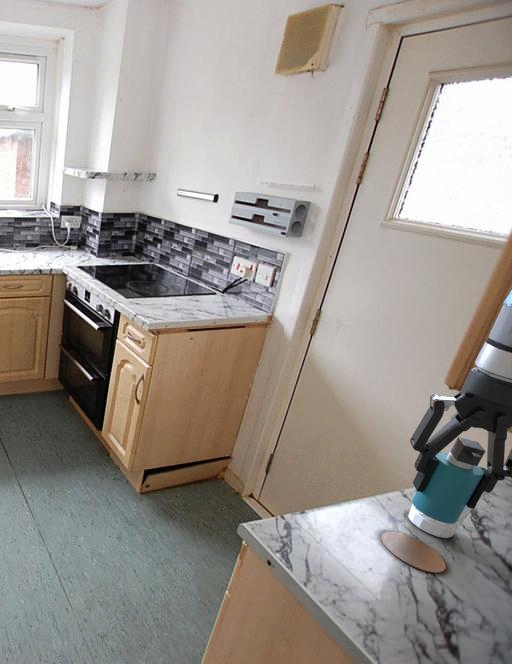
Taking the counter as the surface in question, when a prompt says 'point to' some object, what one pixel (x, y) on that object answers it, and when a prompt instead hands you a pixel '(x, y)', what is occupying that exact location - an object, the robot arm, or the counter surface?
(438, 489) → the spray bottle
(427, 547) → the coaster
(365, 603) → the counter surface
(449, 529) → the white cup
